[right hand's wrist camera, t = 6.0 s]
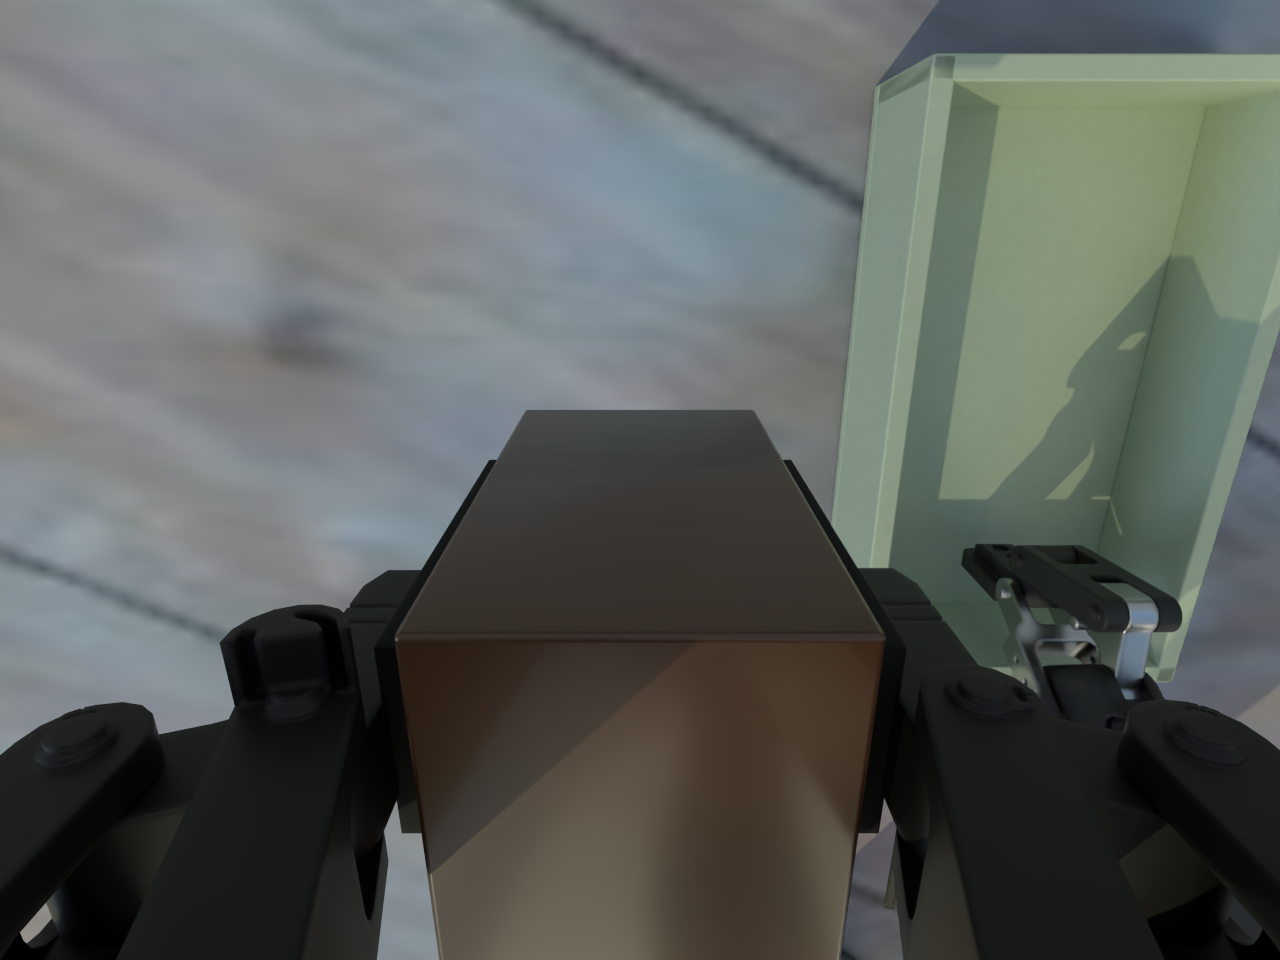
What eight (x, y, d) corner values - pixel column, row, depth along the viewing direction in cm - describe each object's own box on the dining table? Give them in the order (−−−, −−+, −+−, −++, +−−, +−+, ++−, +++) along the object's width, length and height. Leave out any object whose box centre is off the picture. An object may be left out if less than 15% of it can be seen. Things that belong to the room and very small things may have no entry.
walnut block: (524, 408, 14) (390, 636, 6) (755, 408, 14) (888, 635, 6) (536, 609, 15) (439, 979, 8) (742, 609, 15) (840, 980, 8)
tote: (874, 86, 28) (933, 52, 22) (1220, 86, 28) (1366, 52, 22) (821, 610, 36) (855, 682, 30) (1089, 610, 36) (1172, 682, 30)
